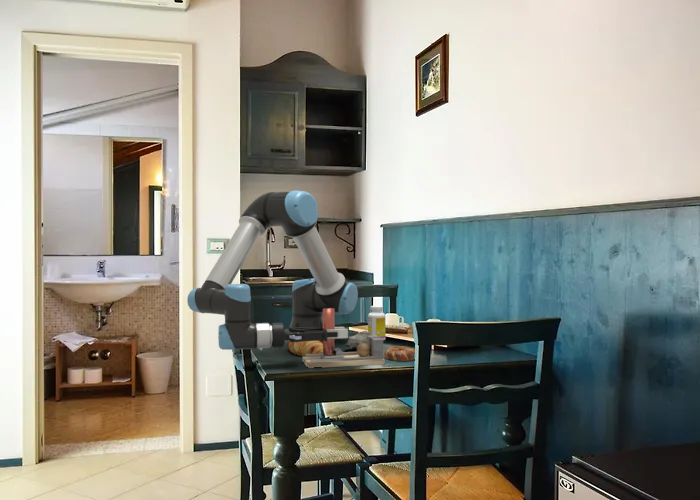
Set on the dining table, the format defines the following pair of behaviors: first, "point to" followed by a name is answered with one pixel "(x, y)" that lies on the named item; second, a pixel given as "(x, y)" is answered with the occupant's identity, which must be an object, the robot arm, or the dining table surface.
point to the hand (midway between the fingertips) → (345, 332)
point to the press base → (352, 356)
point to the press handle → (328, 346)
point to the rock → (358, 339)
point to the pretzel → (400, 353)
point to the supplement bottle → (377, 322)
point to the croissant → (305, 347)
